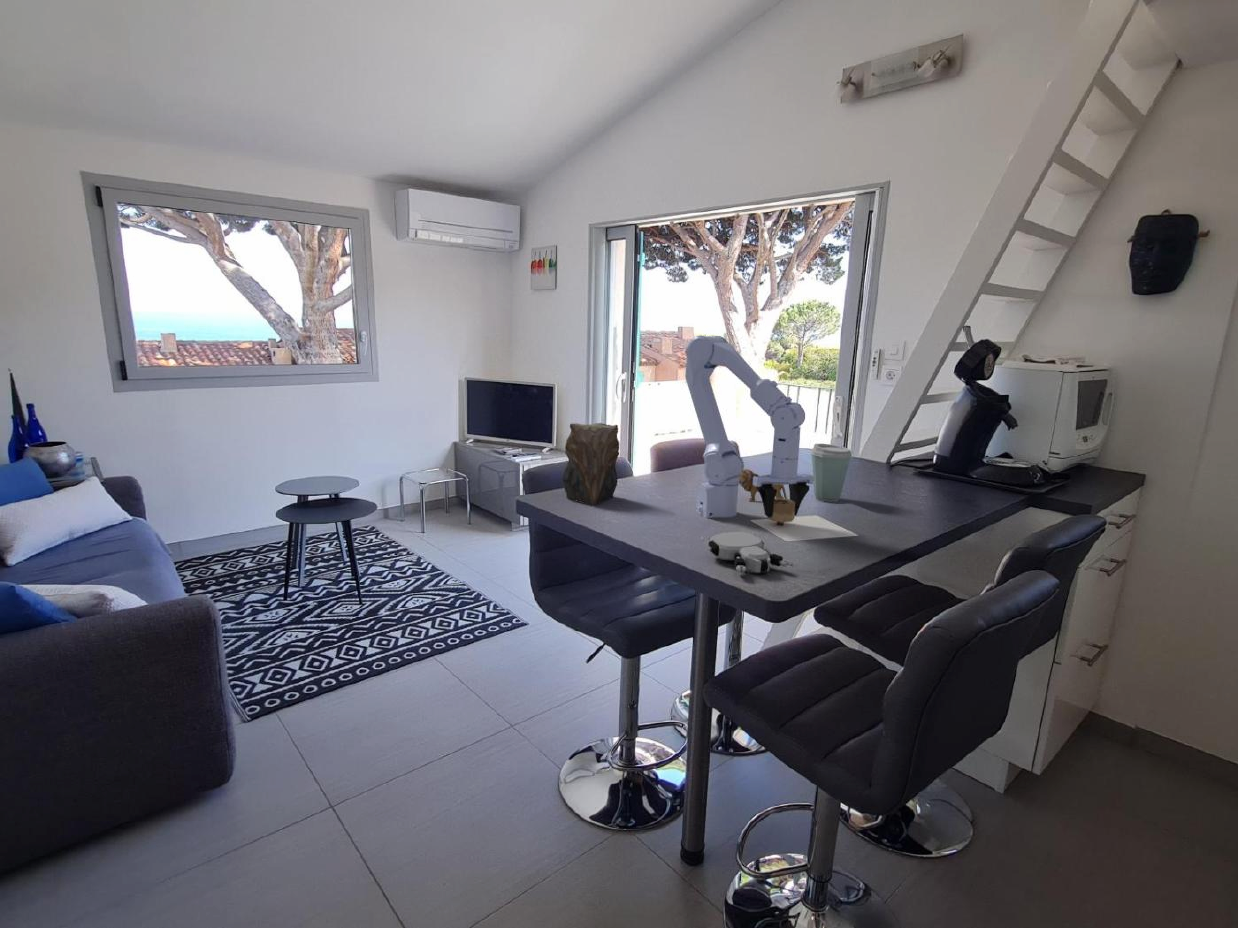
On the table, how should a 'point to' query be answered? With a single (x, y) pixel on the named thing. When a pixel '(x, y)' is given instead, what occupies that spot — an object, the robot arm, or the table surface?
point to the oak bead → (783, 510)
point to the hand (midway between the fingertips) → (780, 515)
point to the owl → (591, 462)
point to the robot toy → (743, 551)
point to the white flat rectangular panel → (804, 528)
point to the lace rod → (780, 522)
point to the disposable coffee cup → (829, 470)
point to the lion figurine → (747, 484)
